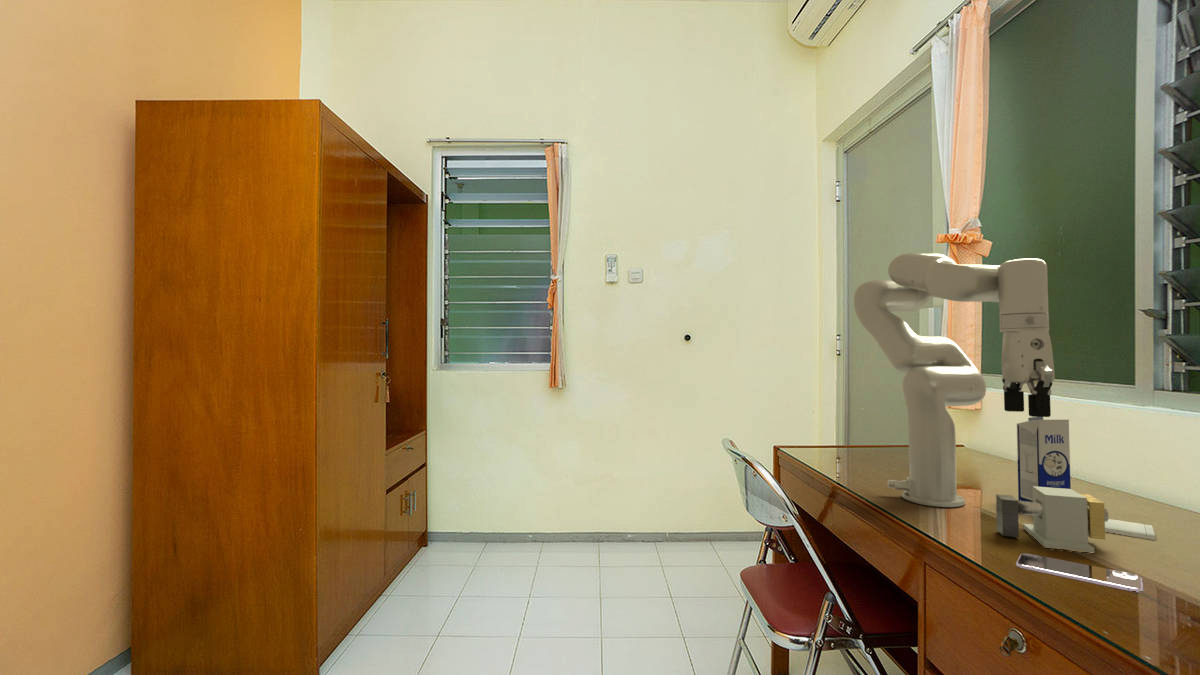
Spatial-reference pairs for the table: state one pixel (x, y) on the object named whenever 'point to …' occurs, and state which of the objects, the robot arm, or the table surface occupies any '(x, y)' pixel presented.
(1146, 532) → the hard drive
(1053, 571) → the mobile phone
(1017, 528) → the shaft
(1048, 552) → the table surface
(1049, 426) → the milk carton
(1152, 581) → the table surface
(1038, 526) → the bearing block
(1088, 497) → the spacer
